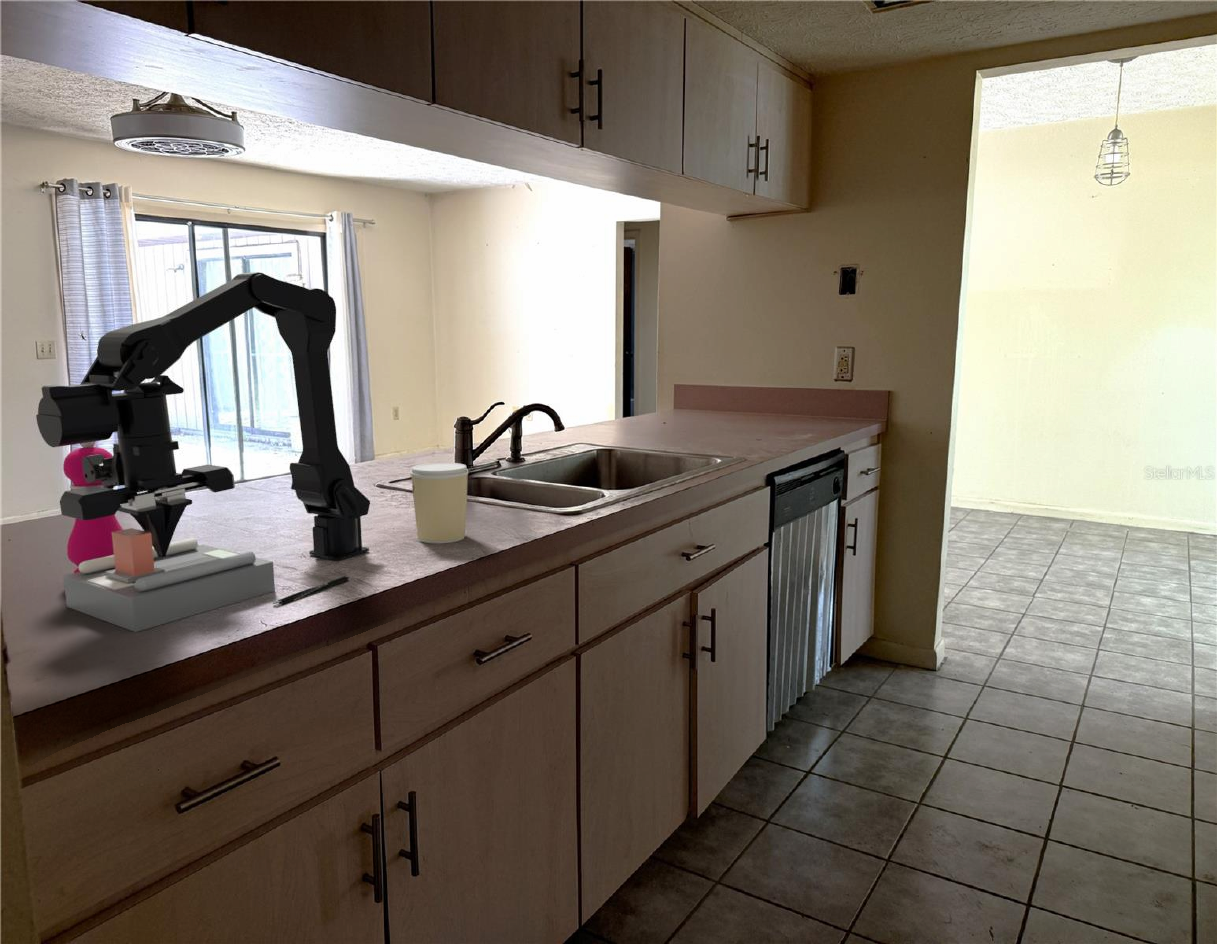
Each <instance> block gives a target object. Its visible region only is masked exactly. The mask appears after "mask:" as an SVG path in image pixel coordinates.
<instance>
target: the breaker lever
mask: <svg viewBox="0 0 1217 944" xmlns="http://www.w3.org/2000/svg"><path fill="white" fill-rule="evenodd" d="M112 540H113V550H114V560H115V570H110V571H106V572H105V574H106V577H109V578H113V579H116V580H119V581H122V582H125V583H132V582H136V580H138V579H140V578H143V577H147V576H151V575H155V574H160V573H164V572H165V570H164V569H160V568H157V567H154V558H153V548H152V547H153V546H152V537H151V533H149V532H145V531H144V530H140V529H137V528H132V527H131V528H126V529H123V530H120V531H115V532H112Z"/></svg>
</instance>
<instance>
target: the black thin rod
mask: <svg viewBox="0 0 1217 944" xmlns="http://www.w3.org/2000/svg"><path fill="white" fill-rule="evenodd" d="M349 579H350V577H349V576H346V575H344V576H341V577H338V578H336V579H333V580H330V581H329V582H326V583H323V584H321V585H317V586H314V587H310V588H307V589H304V590H301V591H298V592H295V593H293V594H291V595H287V596H285V597H283V598H281V599H277V600H276V601H273V602H272V604H273V607H275V608H278V607H280V606H284V605H287V604H289V603H292V602H294V601H297V600H299V599H302V598H306V597H309V596H311V595H312V596H313V595H315V594H318V593H321V592H323V591H324V592H325V591H326V590H328V589H331V588H334V587H335V586H339V585H341V584H345V583H347V582H349Z"/></svg>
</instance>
